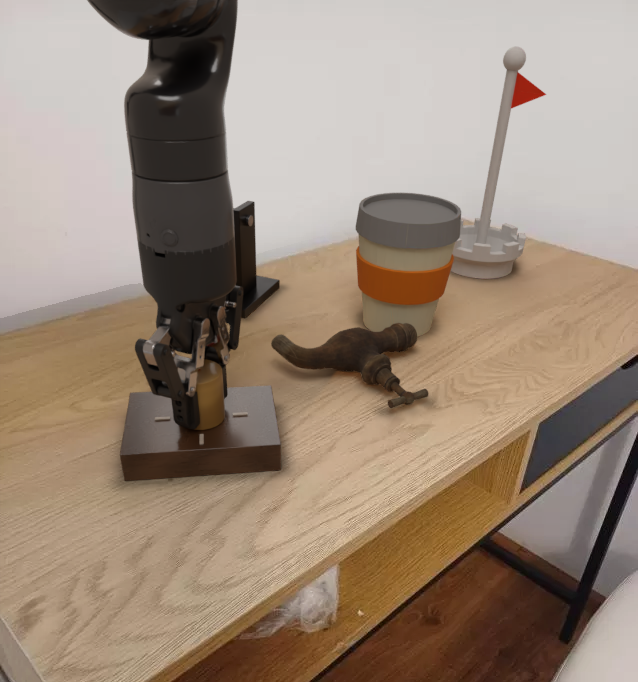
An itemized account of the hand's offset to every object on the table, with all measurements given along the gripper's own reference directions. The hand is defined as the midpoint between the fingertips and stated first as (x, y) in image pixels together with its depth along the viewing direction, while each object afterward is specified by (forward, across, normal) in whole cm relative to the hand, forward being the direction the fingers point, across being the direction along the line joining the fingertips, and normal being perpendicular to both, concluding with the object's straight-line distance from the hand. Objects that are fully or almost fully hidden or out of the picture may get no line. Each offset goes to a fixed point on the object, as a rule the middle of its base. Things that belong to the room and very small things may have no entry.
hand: (202, 410), depth 60 cm
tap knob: (+1, 0, 0) cm, 1 cm away
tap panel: (+4, 0, 0) cm, 4 cm away
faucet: (+4, -18, +11) cm, 21 cm away
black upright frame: (+4, -31, -14) cm, 34 cm away
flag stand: (+4, -58, +15) cm, 60 cm away
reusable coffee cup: (+4, -33, +10) cm, 35 cm away
